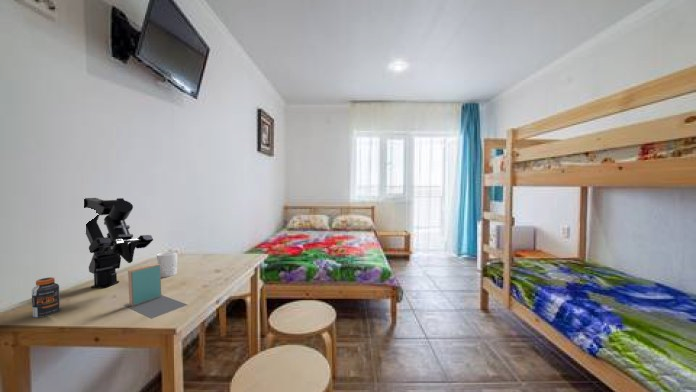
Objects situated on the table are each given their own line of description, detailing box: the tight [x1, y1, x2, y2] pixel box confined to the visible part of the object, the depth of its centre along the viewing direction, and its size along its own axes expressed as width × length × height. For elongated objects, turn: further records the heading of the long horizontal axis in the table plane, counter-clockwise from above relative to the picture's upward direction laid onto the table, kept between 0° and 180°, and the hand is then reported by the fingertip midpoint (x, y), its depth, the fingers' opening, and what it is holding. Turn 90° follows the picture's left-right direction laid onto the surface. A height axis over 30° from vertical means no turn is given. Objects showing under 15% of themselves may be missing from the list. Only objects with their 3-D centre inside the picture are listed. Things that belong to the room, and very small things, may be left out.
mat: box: [123, 294, 188, 319], centre depth 93 cm, size 19×11×1 cm, turn 60°
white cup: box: [156, 250, 178, 278], centre depth 125 cm, size 8×8×10 cm
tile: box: [127, 263, 162, 306], centre depth 96 cm, size 2×9×12 cm, turn 150°
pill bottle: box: [31, 277, 61, 318], centre depth 88 cm, size 6×6×11 cm
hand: (130, 262), depth 101 cm, fingers closed
